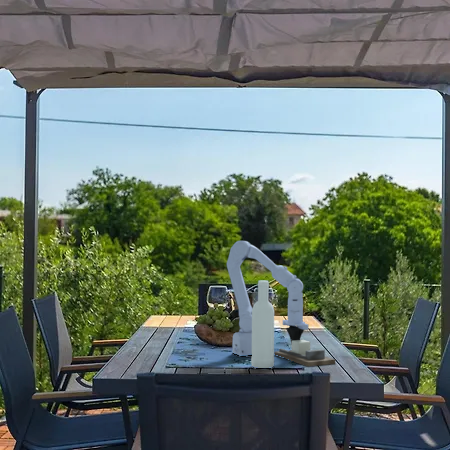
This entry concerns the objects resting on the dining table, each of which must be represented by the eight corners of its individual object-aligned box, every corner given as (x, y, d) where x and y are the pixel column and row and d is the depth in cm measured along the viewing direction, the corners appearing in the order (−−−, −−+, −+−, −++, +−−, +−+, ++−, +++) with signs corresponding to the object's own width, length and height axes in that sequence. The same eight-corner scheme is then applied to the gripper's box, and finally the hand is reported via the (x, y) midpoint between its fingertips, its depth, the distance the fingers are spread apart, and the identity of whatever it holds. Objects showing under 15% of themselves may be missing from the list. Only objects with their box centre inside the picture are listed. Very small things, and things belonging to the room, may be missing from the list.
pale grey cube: (299, 356, 218) (299, 342, 219) (291, 353, 223) (291, 340, 223) (310, 355, 221) (310, 341, 221) (302, 352, 225) (302, 339, 225)
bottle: (260, 363, 211) (260, 279, 212) (278, 366, 206) (279, 280, 207) (246, 367, 205) (247, 280, 206) (265, 370, 200) (266, 281, 201)
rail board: (308, 366, 207) (308, 353, 208) (274, 355, 227) (274, 343, 227) (335, 363, 213) (335, 351, 213) (300, 353, 232) (300, 341, 233)
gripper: (315, 312, 221) (315, 348, 221) (293, 308, 234) (292, 342, 234) (299, 313, 218) (299, 350, 217) (278, 309, 231) (277, 344, 230)
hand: (295, 346), depth 225 cm, fingers closed
